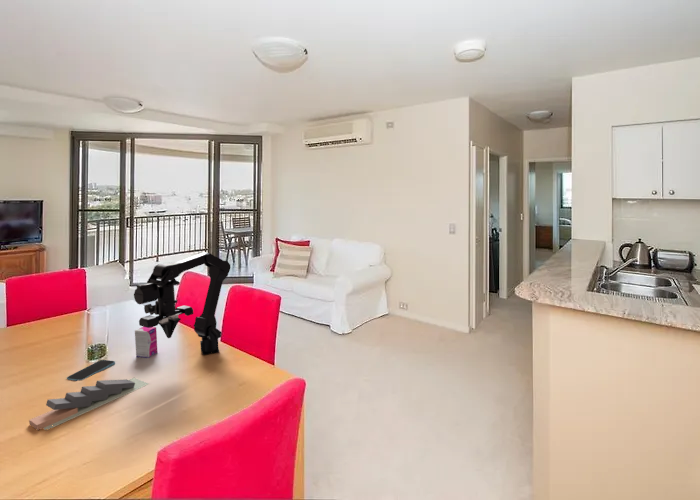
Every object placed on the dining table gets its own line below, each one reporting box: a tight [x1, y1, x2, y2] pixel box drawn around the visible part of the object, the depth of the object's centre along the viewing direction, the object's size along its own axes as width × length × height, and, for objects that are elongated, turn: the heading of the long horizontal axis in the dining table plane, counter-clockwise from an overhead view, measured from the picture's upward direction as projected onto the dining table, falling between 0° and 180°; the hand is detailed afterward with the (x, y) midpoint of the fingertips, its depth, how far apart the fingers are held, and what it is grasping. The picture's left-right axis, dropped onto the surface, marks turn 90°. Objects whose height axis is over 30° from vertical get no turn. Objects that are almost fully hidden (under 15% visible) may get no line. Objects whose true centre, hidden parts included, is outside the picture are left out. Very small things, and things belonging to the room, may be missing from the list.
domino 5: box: [95, 378, 135, 390], centre depth 124 cm, size 2×5×10 cm
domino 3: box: [64, 391, 108, 403], centre depth 117 cm, size 2×5×10 cm
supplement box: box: [134, 326, 158, 359], centre depth 153 cm, size 6×6×12 cm
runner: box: [42, 377, 150, 431], centre depth 119 cm, size 30×9×1 cm, turn 150°
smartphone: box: [66, 359, 116, 382], centre depth 140 cm, size 7×1×15 cm
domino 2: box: [45, 397, 92, 410], centre depth 113 cm, size 2×5×10 cm
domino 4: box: [80, 385, 122, 396], centre depth 120 cm, size 2×5×10 cm
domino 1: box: [28, 408, 78, 431], centre depth 109 cm, size 2×5×10 cm
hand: (169, 337), depth 141 cm, fingers closed
